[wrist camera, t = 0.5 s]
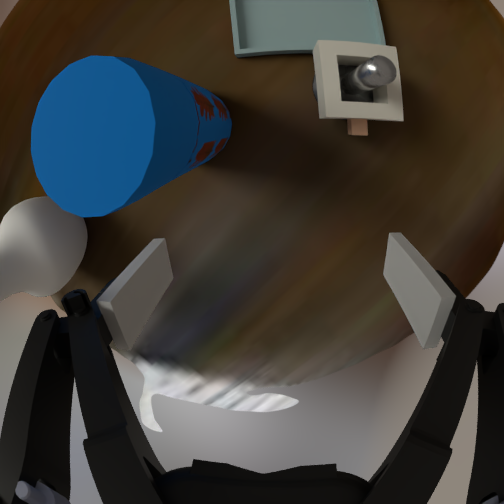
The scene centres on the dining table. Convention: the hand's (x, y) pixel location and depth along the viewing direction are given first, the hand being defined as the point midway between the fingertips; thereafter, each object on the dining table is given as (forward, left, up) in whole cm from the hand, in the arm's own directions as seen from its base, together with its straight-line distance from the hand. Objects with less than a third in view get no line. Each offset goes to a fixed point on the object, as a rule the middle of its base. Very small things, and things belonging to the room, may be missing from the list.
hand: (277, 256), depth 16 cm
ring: (-12, +10, -21) cm, 26 cm away
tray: (-25, +6, -25) cm, 36 cm away
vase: (+5, -40, -25) cm, 47 cm away
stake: (-12, +10, -25) cm, 29 cm away
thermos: (-8, -11, -25) cm, 29 cm away
